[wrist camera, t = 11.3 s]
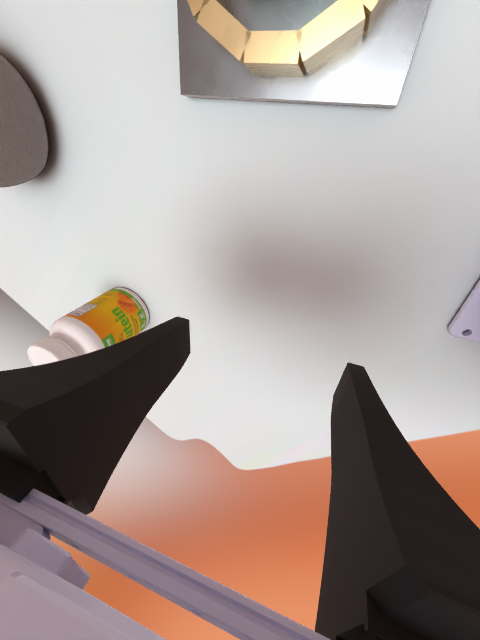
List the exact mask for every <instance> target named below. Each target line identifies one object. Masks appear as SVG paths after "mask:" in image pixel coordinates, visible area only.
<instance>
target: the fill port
mask: <svg viewBox="0 0 480 640" xmlns="http://www.w3.org/2000/svg"><path fill="white" fill-rule="evenodd" d="M430 2H431V0H177V8H178V34H179V60H180V86H181V95H184V96H186V97H190V98H209V99H228V100H247V101H266V102H285V103H304V104H323V105H342V106H361V107H380V108H394V107H395V106H396V105H397V102H398V99H399V96H400V93H401V90H402V87H403V84H404V81H405V78H406V75H407V72H408V69H409V66H410V63H411V60H412V57H413V54H414V50H415V47H416V44H417V41H418V38H419V35H420V32H421V29H422V26H423V23H424V20H425V17H426V14H427V11H428V8H429V5H430Z"/></svg>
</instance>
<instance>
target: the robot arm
mask: <svg viewBox="0 0 480 640" xmlns="http://www.w3.org/2000/svg"><path fill="white" fill-rule="evenodd" d="M467 329H469V331H468V332H466V333H462V332H463V331H464V330H467ZM448 331H449V333H450V334H451V335H453V336H456V337H460V338H465V339H469V340H473V341H478V342H480V280H479V282H478V283H477V285H476V286H475V288H474V289H473V291H472V292H471V294H470V295H469V297H468V298H467V300H466V301H465V303H464V304H463V306H462V307H461V309H460V310H459V312H458V313H457V315H456V316H455V318H454V319H453V321H452V322H451V324H450V325H449V327H448ZM189 354H190V331H189V320H188V319H185V318H181V317H175V318H173V319H171V320H168V321H166V322H164V323H162V324H160V325H158V326H155V327H153V328H151V329H149V330H147V331H145V332H142V333H140V334H138V335H136V336H133V337H131V338H128V339H126V340H124V341H121V342H119V343H116V344H114V345H111V346H108V347H105V348H103V349H99V350H96V351H93V352H90V353H87V354H83V355H80V356H76V357H72V358H68V359H64V360H61V361H56V362H52V363H47V364H42V365H37V366H32V367H27V368H21V369H14V370H7V371H0V640H165V639H164V638H162V637H160V636H159V635H157V634H155V633H154V632H152V631H151V630H149V629H147V628H146V627H144V626H142V625H141V624H139V623H138V622H136V621H134V620H133V619H131V618H129V617H127V616H126V615H124V614H122V613H121V612H119V611H117V610H116V609H114V608H112V607H111V606H109V605H107V604H106V603H104V602H102V601H101V600H99V599H97V598H95V597H93V596H92V595H90V594H88V593H87V592H85V591H83V589H84V587H85V585H86V584H87V582H88V580H89V579H90V574H89V573H88V572H87V571H85V570H84V569H83V568H82V567H81V566H79V564H77V563H76V561H74V560H73V558H72V557H71V555H70V554H69V553H68V552H66V551H65V550H63V549H62V548H61V547H59V546H57V545H56V544H54V543H53V542H51V541H50V535H52V536H54V537H56V538H58V539H59V540H61V541H63V542H65V543H67V544H69V545H70V546H72V547H74V548H76V549H77V550H79V551H81V552H83V553H85V554H87V555H88V556H90V557H92V558H94V559H96V560H97V561H99V562H101V563H103V564H105V565H106V566H108V567H110V568H112V569H114V570H115V571H117V572H119V573H121V574H123V575H125V576H127V577H128V578H130V579H132V580H134V581H135V582H137V583H139V584H141V585H143V586H144V587H146V588H148V589H150V590H152V591H153V592H155V593H157V594H159V595H161V596H163V597H164V598H166V599H168V600H170V601H172V602H173V603H175V604H177V605H179V606H181V607H182V608H184V609H186V610H188V611H190V612H192V613H194V614H195V615H197V616H199V617H201V618H202V619H204V620H206V621H208V622H210V623H212V624H213V625H215V626H217V627H219V628H221V629H223V630H224V631H226V632H228V633H230V634H231V635H233V636H235V637H237V638H239V639H241V640H480V529H479V528H478V527H477V526H476V525H475V524H474V523H473V522H472V521H471V520H470V518H469V517H468V516H467V515H466V514H465V513H464V512H463V511H462V510H461V509H460V507H459V506H458V505H457V504H456V503H455V502H454V501H453V499H451V497H450V496H449V495H448V494H447V492H446V491H445V490H444V489H443V488H442V487H441V485H440V484H439V483H438V482H437V481H436V480H435V478H434V477H433V476H432V474H431V473H430V472H429V471H428V469H427V468H426V467H425V466H424V464H423V463H422V462H421V460H420V459H419V458H418V456H417V455H416V454H415V452H414V451H413V450H412V448H411V447H410V445H409V444H408V443H407V441H406V440H405V438H404V437H403V435H402V434H401V432H400V431H399V429H398V427H397V426H396V424H395V423H394V421H393V419H392V418H391V416H390V414H389V413H388V411H387V409H386V408H385V406H384V404H383V402H382V401H381V399H380V397H379V395H378V393H377V391H376V390H375V388H374V386H373V384H372V382H371V380H370V378H369V376H368V374H367V372H366V370H365V368H364V367H363V366H359V365H355V364H352V363H347V365H346V368H345V370H344V372H343V375H342V377H341V379H340V382H339V384H338V386H337V388H336V391H335V393H334V395H333V403H332V412H331V461H332V462H331V464H332V477H331V494H330V506H329V517H328V527H327V537H326V546H325V555H324V565H323V573H322V581H321V589H320V597H319V604H318V612H317V620H316V626H315V631H313V630H311V629H308V628H307V627H305V626H302V625H301V624H299V623H297V622H295V621H293V620H291V619H289V618H287V617H285V616H283V615H281V614H279V613H277V612H275V611H273V610H271V609H269V608H268V607H266V606H264V605H262V604H260V603H258V602H256V601H254V600H252V599H250V598H248V597H246V596H244V595H242V594H240V593H238V592H236V591H234V590H232V589H230V588H228V587H226V586H224V585H222V584H220V583H218V582H217V581H215V580H212V579H211V578H209V577H206V576H204V575H203V574H201V573H199V572H197V571H195V570H193V569H191V568H189V567H187V566H185V565H183V564H181V563H179V562H177V561H175V560H173V559H171V558H169V557H167V556H166V555H164V554H161V553H160V552H158V551H156V550H154V549H152V548H150V547H148V546H146V545H144V544H142V543H140V542H138V541H136V540H134V539H132V538H130V537H128V536H126V535H124V534H122V533H120V532H118V531H116V530H115V529H112V528H111V527H109V526H107V525H104V524H103V523H101V522H99V521H97V520H95V519H93V518H91V517H89V516H87V514H89V513H90V512H92V511H93V510H94V508H95V506H96V504H97V502H98V500H99V498H100V496H101V494H102V492H103V490H104V488H105V486H106V484H107V482H108V480H109V478H110V476H111V474H112V473H113V471H114V469H115V467H116V466H117V464H118V462H119V460H120V458H121V457H122V455H123V453H124V451H125V449H126V448H127V446H128V444H129V443H130V441H131V439H132V438H133V436H134V434H135V432H136V431H137V429H138V428H139V426H140V424H141V423H142V421H143V420H144V418H145V416H146V415H147V413H148V412H149V411H150V409H151V408H152V406H153V405H154V404H155V402H156V401H157V400H158V399H159V397H160V396H161V395H162V393H163V392H164V391H165V390H166V388H167V387H168V386H169V384H170V383H171V382H172V380H173V379H174V378H175V377H176V375H177V374H178V373H179V371H180V370H181V368H182V366H183V365H184V363H185V361H186V360H187V358H188V356H189Z"/></svg>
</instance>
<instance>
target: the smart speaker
mask: <svg viewBox="0 0 480 640" xmlns="http://www.w3.org/2000/svg"><path fill="white" fill-rule="evenodd" d="M47 157H48V134H47V129H46V125H45V121H44V118H43V115H42V112H41V110H40V107H39V105H38V103H37V101H36V99H35V97H34V95H33V93H32V92H31V90H30V88H29V87H28V85H27V84H26V82H25V81H24V79H23V78H22V77H21V75H20V74H19V73H18V72H17V70H16V69H15V68H14V67H13V66H12V65H11V64H10V63H9V62H8V61H7V60H6V59H5V58H3V57H2V56H1V55H0V187H9V186H15V185H18V184H22V183H25V182H27V181H29V180H31V179H33V178H34V177H36V176H37V175H38V174H39V173H40V172H41V171H42V170H43V168H44V166H45V164H46V161H47Z"/></svg>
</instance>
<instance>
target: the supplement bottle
mask: <svg viewBox="0 0 480 640" xmlns="http://www.w3.org/2000/svg"><path fill="white" fill-rule="evenodd" d="M148 322H149V314H148V310H147V308H146V306H145V304H144V303H143V301H142V300H141V299H140V298H139V297H138V296H137V295H136V294H135V293H133V292H132V291H130V290H128V289H125V288H114V289H111V290H109V291H107V292H105V293H104V294H102V295H100V296H98V297H97V298H95V299H93V300H91V301H90V302H88V303H86V304H84V305H83V306H81V307H79V308H77V309H76V310H74V311H72V312H70V313H69V314H67V315H65V316H63V317H61V318H60V319H58V320H57V321H55V322H54V323H53V324H52V326H51V328H50V333H49V334H50V336H48V337H46V338H42V339H41V340H40V341H38V342H36V343H35V344H33V345H32V346H30V347H29V348H28V357H29V359H30V361H31V362H32V364H33V365H34V366H37V365H42V364H47V363H52V362H56V361H61V360H64V359H68V358H72V357H76V356H80V355H83V354H87V353H90V352H93V351H96V350H99V349H103V348H105V347H108V346H111V345H114V344H116V343H119V342H121V341H124V340H126V339H128V338H131V337H133V336H136V335H138V334H139V333H140V332H141V331H142V330H143V329H144V328H145V327H146V326H147V324H148Z"/></svg>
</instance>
